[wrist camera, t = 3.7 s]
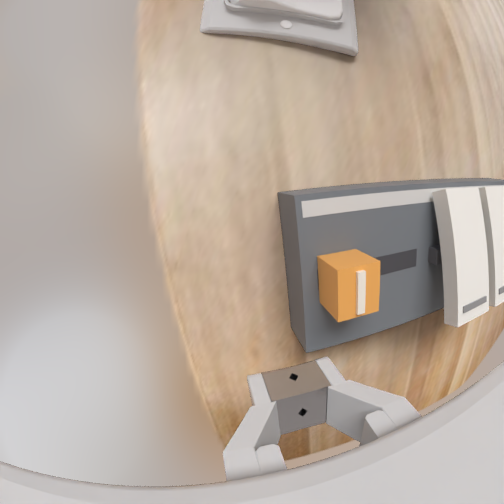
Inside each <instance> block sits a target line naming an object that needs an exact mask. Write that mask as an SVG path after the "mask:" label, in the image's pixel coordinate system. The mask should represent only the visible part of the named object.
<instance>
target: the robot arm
mask: <svg viewBox="0 0 504 504" xmlns="http://www.w3.org/2000/svg"><path fill="white" fill-rule="evenodd" d="M247 381H248V386H249V391H250V397H251V402H252V406H251V407H250V408H249V410H248V412H247V413H246V415H245V417H244V418H243V420H242V422H241V423H240V425H239V427H238V428H237V430H236V432H235V433H234V435H233V437H232V438H231V440H230V441H229V443H228V445H227V446H226V448H225V449H224V451H223V458H224V466H225V473H226V479H227V482H219V483H210V484H200V485H187V486H162V487H161V486H151V487H149V486H123V485H108V484H99V483H90V482H83V481H76V480H71V479H65V478H60V477H55V476H50V475H46V474H41V473H37V472H33V471H30V470H26V469H22V468H19V467H16V466H12V465H10V464H7V463H4V462H0V504H504V361H503V362H502V363H501V364H499V365H498V366H497V367H496V368H495V369H493V370H492V371H491V372H489V373H488V374H487V375H485V376H484V377H483V378H482V379H480V380H479V381H477V382H476V383H475V384H474V385H472V386H470V387H469V388H468V389H466V390H465V391H463V392H462V393H460V394H459V395H457V396H456V397H454V398H453V399H451V400H449V401H448V402H446V403H445V404H443V405H442V406H440V407H438V408H436V409H435V410H433V411H431V412H429V413H428V414H426V415H424V416H423V417H422V416H421V415H420V414H419V413H418V411H417V410H416V409H415V408H414V407H413V406H412V405H411V404H410V403H409V402H408V400H407V399H406V398H405V397H402V396H398V395H395V394H392V393H389V392H385V391H382V390H379V389H376V388H373V387H370V386H367V385H364V384H361V383H358V382H355V381H352V380H348V381H346V380H345V379H344V377H343V376H342V375H341V373H340V372H339V371H338V369H337V368H336V367H335V365H334V364H333V363H332V361H331V360H330V359H329V357H327V356H326V357H323V358H320V359H316V360H314V361H311V362H307V363H303V364H299V365H295V366H291V367H287V368H282V369H278V370H273V371H268V372H263V373H258V374H253V375H248V376H247ZM325 422H326V423H327V424H329V425H330V426H332V427H334V428H335V429H337V430H339V431H341V432H342V433H344V434H346V435H348V436H350V437H351V438H353V439H355V440H357V441H359V442H360V446H359V447H357V448H354V449H352V450H349V451H346V452H344V453H341V454H338V455H335V456H332V457H329V458H326V459H323V460H320V461H317V462H313V463H310V464H307V465H303V466H300V467H296V468H292V469H288V470H287V467H286V465H285V462H284V459H283V456H282V453H281V450H280V448H279V446H278V442H279V439H280V435H282V434H286V433H289V432H293V431H296V430H300V429H303V428H307V427H311V426H314V425H318V424H322V423H325Z"/></svg>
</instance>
